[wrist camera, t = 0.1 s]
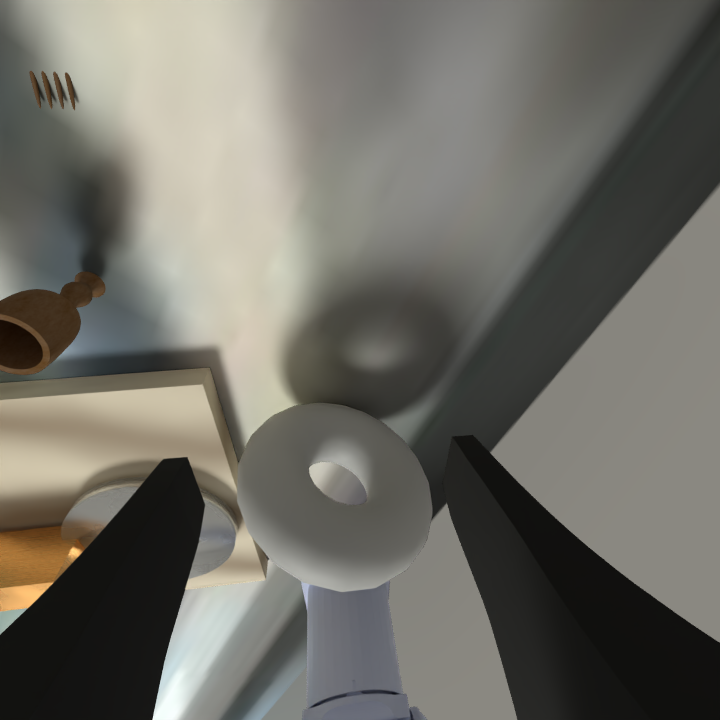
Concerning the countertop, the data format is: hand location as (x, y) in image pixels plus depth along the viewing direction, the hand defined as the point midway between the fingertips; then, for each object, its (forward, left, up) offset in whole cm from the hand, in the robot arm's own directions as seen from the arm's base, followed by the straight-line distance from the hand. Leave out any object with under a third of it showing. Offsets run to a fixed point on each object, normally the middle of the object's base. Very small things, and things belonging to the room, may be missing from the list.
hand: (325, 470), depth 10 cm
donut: (-7, 0, -10) cm, 12 cm away
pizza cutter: (-14, +14, -8) cm, 21 cm away
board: (-13, +15, -10) cm, 22 cm away
